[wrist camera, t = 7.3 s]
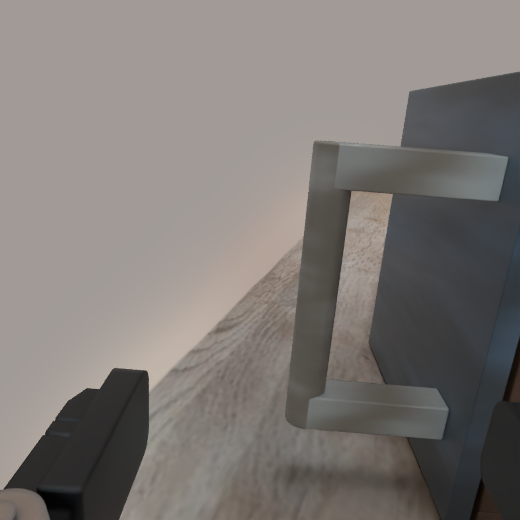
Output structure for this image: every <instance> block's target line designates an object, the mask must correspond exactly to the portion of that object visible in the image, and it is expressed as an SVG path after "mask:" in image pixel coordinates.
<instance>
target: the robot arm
mask: <svg viewBox="0 0 520 520" xmlns="http://www.w3.org/2000/svg"><path fill="white" fill-rule="evenodd" d="M148 432H149V377H148V372H147V371H144V370H132V369H119V368H114V369H113V370H112V371H111V372H110V374H109V376H108V377H107V379H106V380H105V382H104V383H103V385H102V386H101V388H100V389H90V388H87V389H85V390H84V391H82V392H81V393H79V394H78V395H77V396H75V397H73V398H72V399H70V400H69V401H68V402H67V403H66V405H65V406H64V407H63V409H62V410H61V411H60V413H59V414H58V415H57V417H56V420H55V421H53V422H52V424H51V425H50V426H49V428H48V429H47V430H46V433H45V435H43V436H42V437H41V439H40V440H39V441H38V443H37V444H36V446H35V447H34V448H33V450H32V451H31V452H30V454H29V455H28V457H27V458H26V459H25V461H24V462H23V463H22V465H21V466H20V467H19V469H18V470H17V472H16V473H15V474H14V476H13V477H12V479H11V480H10V481H9V482H8V484H7V485H6V487H5V488H4V489H3V490H0V520H119V518H120V515H121V513H122V510H123V508H124V505H125V503H126V500H127V497H128V495H129V492H130V490H131V487H132V485H133V482H134V479H135V477H136V474H137V472H138V469H139V467H140V464H141V462H142V459H143V456H144V453H145V450H146V445H147V440H148ZM480 471H481V477H482V480H483V483H484V485H485V488H486V489H487V491H488V493H489V495H490V497H491V498H492V500H493V502H494V504H495V505H496V507H497V509H498V511H499V513H500V514H501V516H502V518H503V520H520V403H518V402H506V401H500V402H498V403H497V404H496V405H495V407H494V409H493V412H492V416H491V420H490V423H489V427H488V431H487V435H486V438H485V442H484V446H483V449H482V453H481V457H480Z"/></svg>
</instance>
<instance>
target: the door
mask: <svg viewBox="0 0 520 520" xmlns="http://www.w3.org/2000/svg"><path fill="white" fill-rule="evenodd" d="M351 191H364V192H377V193H390V194H393V197H392V203H391V209H390V215H389V221H388V228H387V234H386V240H385V246H384V252H383V258H382V265H381V271H380V277H379V283H378V289H377V295H376V302H375V308H374V314H373V320H372V326H371V332H370V339H369V343H370V346H371V348H372V351H373V353H374V356H375V358H376V360H377V363H378V365H379V368H380V370H381V373H382V375H383V377H384V380H385V382H386V384H377V383H364V382H352V381H340V380H328V379H326V377H327V369H328V362H329V354H330V347H331V339H332V332H333V324H334V317H335V309H336V302H337V294H338V287H339V280H340V272H341V265H342V257H343V250H344V242H345V235H346V227H347V220H348V212H349V205H350V197H351ZM519 337H520V72H515V73H510V74H504V75H499V76H493V77H487V78H482V79H476V80H471V81H465V82H459V83H453V84H448V85H443V86H437V87H431V88H426V89H420V90H415V91H410V92H409V99H408V105H407V110H406V117H405V123H404V129H403V135H402V141H401V147H398V146H385V145H372V144H359V143H346V142H332V141H314V144H313V154H312V163H311V173H310V182H309V192H308V201H307V212H306V220H305V231H304V239H303V249H302V258H301V268H300V277H299V287H298V297H297V306H296V316H295V325H294V335H293V344H292V354H291V363H290V373H289V382H288V392H287V401H286V411H285V417H286V420H287V421H288V422H289V423H290V424H291V425H293V426H295V427H298V428H302V429H317V430H329V431H341V432H353V433H365V434H377V435H389V436H402V437H408V438H409V441H410V443H411V446H412V448H413V451H414V453H415V455H416V458H417V460H418V463H419V465H420V468H421V470H422V472H423V475H424V477H425V480H426V482H427V485H428V487H429V490H430V492H431V494H432V497H433V499H434V502H435V504H436V507H437V509H438V511H439V514H440V516H441V519H442V520H470V516H471V512H472V509H473V505H474V501H475V498H476V494H477V490H478V487H479V483H480V479H481V471H480V457H481V453H482V449H483V446H484V442H485V438H486V435H487V431H488V427H489V423H490V420H491V416H492V412H493V409H494V407H495V405H496V404H497V403H498V402H500V401H502V399H503V396H504V392H505V388H506V385H507V381H508V377H509V374H510V370H511V366H512V363H513V359H514V355H515V352H516V348H517V345H518V341H519Z"/></svg>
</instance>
